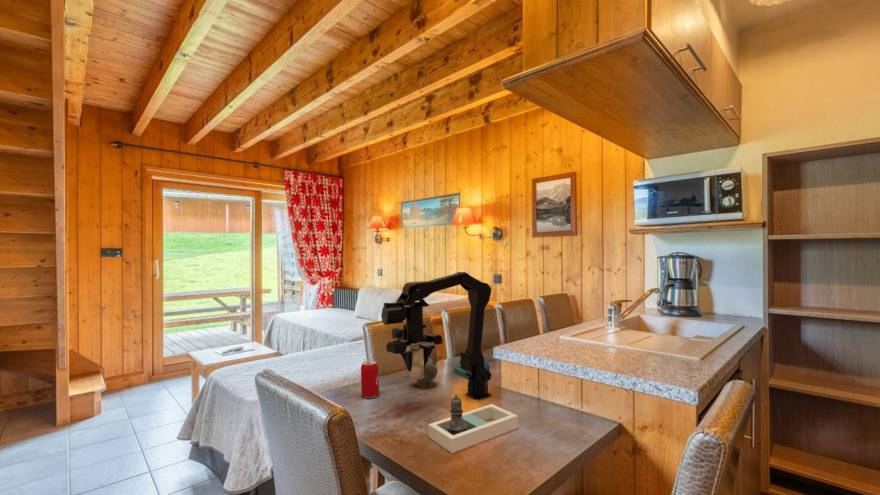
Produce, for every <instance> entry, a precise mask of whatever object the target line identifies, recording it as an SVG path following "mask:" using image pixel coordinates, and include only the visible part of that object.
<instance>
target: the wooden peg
mask: <svg viewBox="0 0 880 495" xmlns="http://www.w3.org/2000/svg"><path fill="white" fill-rule="evenodd" d="M410 351H412V352H413V355H412V368H411V372H409V371H408V379H409V380H412V381H417V380H420V379H423V378H424V356H423V348H419V347H410Z"/></svg>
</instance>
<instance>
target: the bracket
mask: <svg viewBox="0 0 880 495" xmlns="http://www.w3.org/2000/svg"><path fill="white" fill-rule="evenodd" d="M484 365H485V368H486V369H487V370H488V371H489V372H490V371H491V369H490V364H489V361H488V360H487V359H486V358H485V357H484ZM453 372H454V374H455V375H457V376H460V377H461V378H464V379H466V380H468V378H470V377H469V376H466V374H465V372H464V371H463V370H462V368H461V364H458V365H455V366H454V367H453ZM490 373H491V372H490Z"/></svg>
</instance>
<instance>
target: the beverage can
mask: <svg viewBox="0 0 880 495" xmlns="http://www.w3.org/2000/svg"><path fill="white" fill-rule="evenodd" d="M379 370H380V369H379V364H378V362H377V361H376V360H372V359H371V360H365V361H363V362H362V363H361V365H360V384H361V385H360V386H361V387H360V388H361V396H362V397H363V398H365V399H373V398H376V397H378V396H379V395H380V378H379V376H380V374H379Z"/></svg>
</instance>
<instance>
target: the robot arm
mask: <svg viewBox="0 0 880 495" xmlns="http://www.w3.org/2000/svg"><path fill="white" fill-rule="evenodd" d="M456 286H461V287H462V289H464V290H465V291H467V299H468V303H469V305H470V314H469V325H468V336H467V347H466V349H465V351H464V352H463V351H461V352H460V361H459V365H461V368H462V370H463V371H464V372H465V374H466V376H469V377H470V378H468V379H467V381H468V382H467V392H466V393H465V395H466V396H468V397H470V398H472V399H474V400H477V401H478V400H482V399H485V398H488V397H491V396H492V394H491V393H489V382H488V381H490V380H491V377H492V373H491V372H489V371H488V370H487V369H486V368H485V365H484V358H485V357H484V355H483V351H482V345H483V344H482V343H483V333H484V332H483V330H484V321H485V320H484V319H485V310H486V307H487V305H488V304H489V302H490V300H491V294H492V288H491V286H490V285H489V284H488V283H487V282H482V281H481V280H479V279H477V278H475V277H473V276H471V275H470V274H469V273H467V272H465V271H458V272H455V273H453V274H449V275H444V276H441V277H438V278H434V279H431V280H425V281H424V280H423V281H421V280H420V281H409V282H405V283H404V285H403V287H402V291H401V293H400V295H399V297H398V298H397V300H395V301H396V302H383V307H382V309H381V310H382V311H381V320H382V323H383V325H384V326H388V325H394V324H395V325H397V324H402V323H404V322H405V324H403V326H402V329H400V328H399V327H396V328H392V329H391V337H392V339H393V340H391V341H388V342H387V344H386V346H385V348H386V352H389V353H392V354H395V355H396V354H397V355H399V354H400V356H401V358H402V359H403V362H404V364H405V367H406V369H407V371H408V373H409V372H411V368H412V355H413V352H412V351H410V348H414V347H416V346H418V348H423V356H424V368H425V365H426V363H427V360H428V358H429V357H430V356H431V354H432V352H433V350H434V349H435V348H436V346H437V345H442V344H443V343H444V342H443V337H442V335H441V334H438V333H427V334H424V333H425V332H424V331H425V329H426V328H427V324H426V323H424V308H426V307H429V306H430V304H429V303H428V302H427V301H426V300H425V298H428V297H429V296H430V295H431V294H434V293H436V292H439V291H442V290H446V289H449V288H453V287H456ZM433 344H434V345H433ZM435 345H436V346H435Z"/></svg>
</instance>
